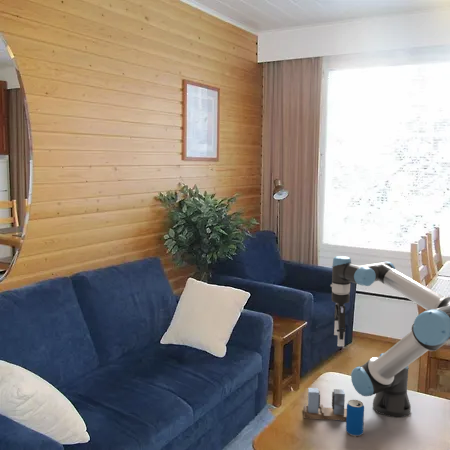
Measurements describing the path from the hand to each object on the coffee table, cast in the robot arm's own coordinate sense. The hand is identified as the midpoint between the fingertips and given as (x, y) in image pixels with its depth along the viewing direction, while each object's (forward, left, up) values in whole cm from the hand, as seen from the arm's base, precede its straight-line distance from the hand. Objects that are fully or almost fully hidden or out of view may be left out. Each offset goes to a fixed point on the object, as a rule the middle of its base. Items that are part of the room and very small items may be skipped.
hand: (339, 340), depth 220 cm
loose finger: (+11, +15, -25) cm, 31 cm away
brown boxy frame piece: (+6, +15, -27) cm, 31 cm away
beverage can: (-4, +27, -27) cm, 39 cm away
